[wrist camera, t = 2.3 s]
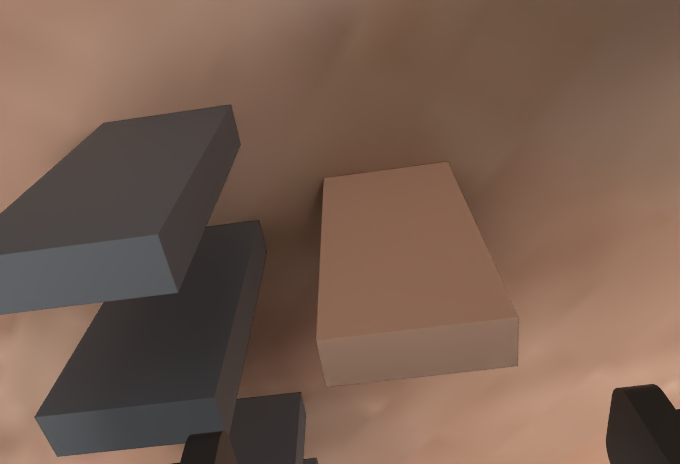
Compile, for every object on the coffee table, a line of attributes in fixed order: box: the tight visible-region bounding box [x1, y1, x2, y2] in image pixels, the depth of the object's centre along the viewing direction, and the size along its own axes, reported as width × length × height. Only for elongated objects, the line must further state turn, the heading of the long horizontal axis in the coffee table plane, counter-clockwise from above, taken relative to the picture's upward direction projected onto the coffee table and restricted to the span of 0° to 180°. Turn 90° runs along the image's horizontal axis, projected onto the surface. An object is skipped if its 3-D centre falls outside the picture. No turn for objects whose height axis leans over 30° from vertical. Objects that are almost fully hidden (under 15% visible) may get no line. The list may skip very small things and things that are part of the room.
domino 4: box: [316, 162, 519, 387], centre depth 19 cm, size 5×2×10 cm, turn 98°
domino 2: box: [35, 220, 267, 457], centre depth 20 cm, size 5×2×10 cm, turn 98°
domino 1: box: [0, 105, 241, 315], centre depth 17 cm, size 5×2×10 cm, turn 98°
